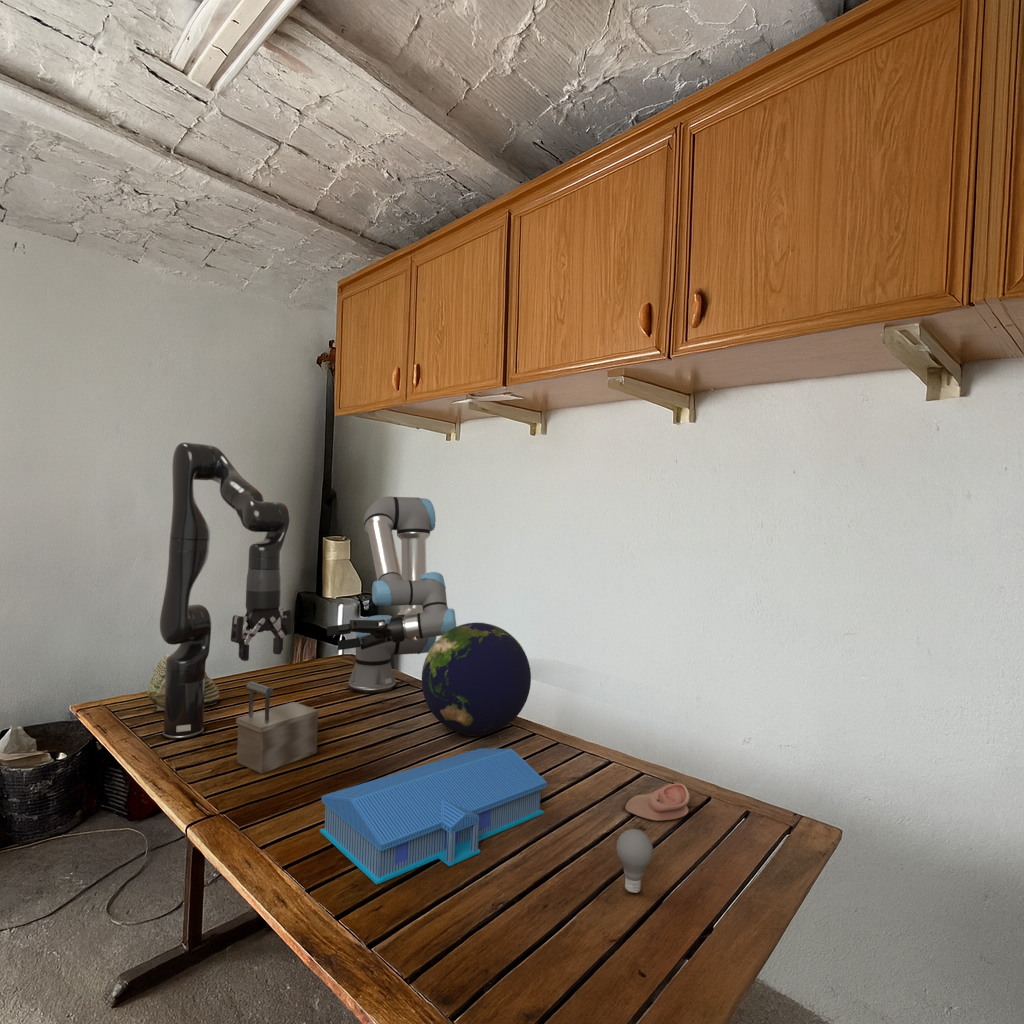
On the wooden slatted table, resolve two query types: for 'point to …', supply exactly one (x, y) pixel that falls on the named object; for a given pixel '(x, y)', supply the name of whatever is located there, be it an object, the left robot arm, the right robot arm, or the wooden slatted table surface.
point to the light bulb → (634, 857)
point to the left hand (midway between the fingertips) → (261, 657)
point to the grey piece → (272, 711)
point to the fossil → (158, 687)
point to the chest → (277, 745)
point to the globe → (476, 679)
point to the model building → (431, 811)
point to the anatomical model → (661, 803)
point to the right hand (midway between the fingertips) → (332, 638)
